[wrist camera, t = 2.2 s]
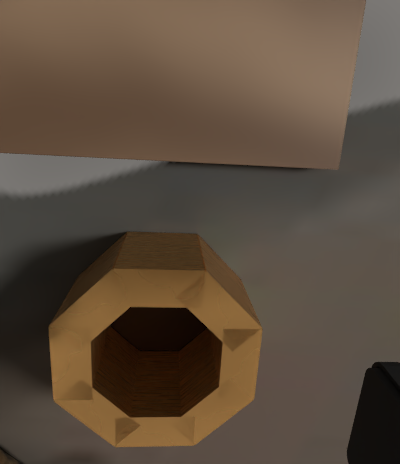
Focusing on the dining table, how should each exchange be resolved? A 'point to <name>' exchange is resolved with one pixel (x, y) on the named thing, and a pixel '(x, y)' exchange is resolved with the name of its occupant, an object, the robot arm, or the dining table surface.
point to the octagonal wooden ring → (155, 362)
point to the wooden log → (7, 458)
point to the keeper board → (179, 79)
